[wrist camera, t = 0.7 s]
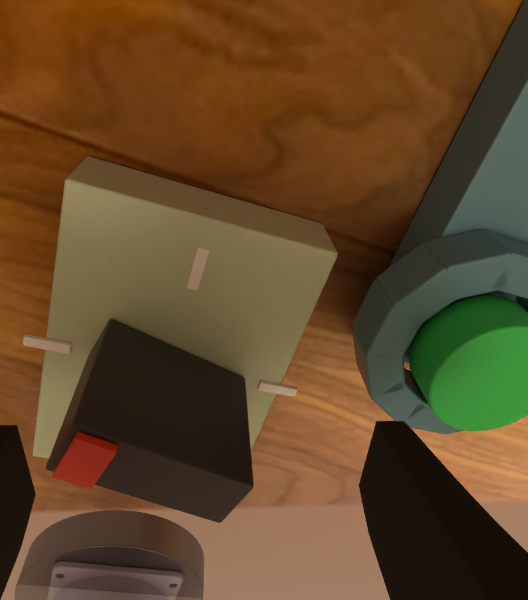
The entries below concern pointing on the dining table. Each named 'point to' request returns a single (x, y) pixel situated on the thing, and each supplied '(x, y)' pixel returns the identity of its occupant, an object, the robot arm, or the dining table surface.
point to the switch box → (455, 236)
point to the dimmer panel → (177, 282)
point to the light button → (474, 363)
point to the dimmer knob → (157, 426)
